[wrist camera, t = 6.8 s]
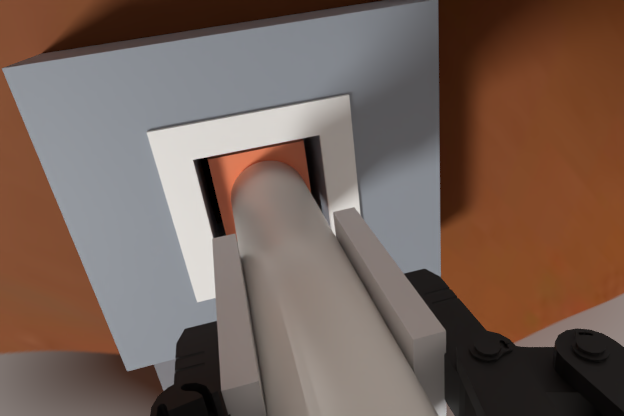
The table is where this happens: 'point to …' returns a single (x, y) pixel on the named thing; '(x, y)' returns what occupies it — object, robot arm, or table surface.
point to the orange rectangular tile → (234, 163)
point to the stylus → (313, 309)
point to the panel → (232, 146)
